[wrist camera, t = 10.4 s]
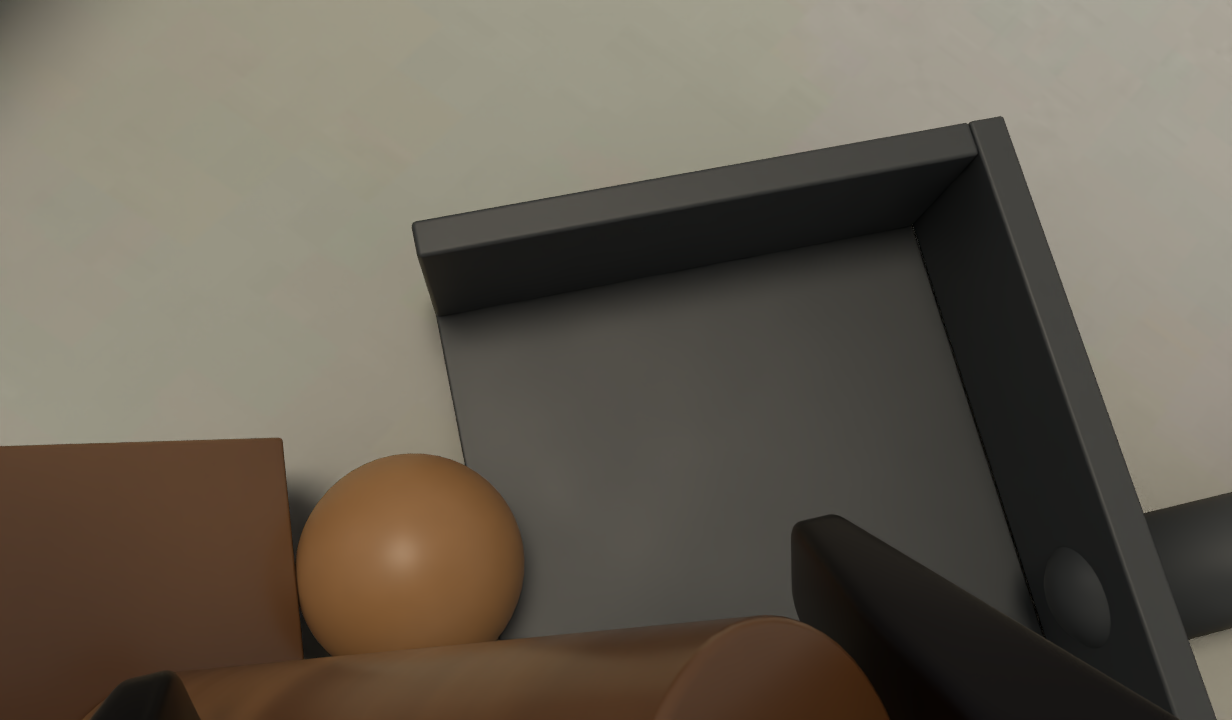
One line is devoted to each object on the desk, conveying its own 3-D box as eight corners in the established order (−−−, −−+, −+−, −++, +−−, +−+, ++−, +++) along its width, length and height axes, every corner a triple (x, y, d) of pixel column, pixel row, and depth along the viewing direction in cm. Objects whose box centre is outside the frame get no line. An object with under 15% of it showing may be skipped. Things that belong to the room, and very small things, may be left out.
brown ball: (316, 756, 14) (551, 705, 15) (258, 572, 13) (524, 522, 13) (326, 598, 17) (522, 560, 18) (281, 433, 16) (496, 396, 16)
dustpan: (621, 1268, 14) (645, 1447, 11) (432, 292, 18) (409, 220, 15) (1689, 921, 17) (1954, 988, 14) (1335, 122, 21) (1481, 28, 17)
